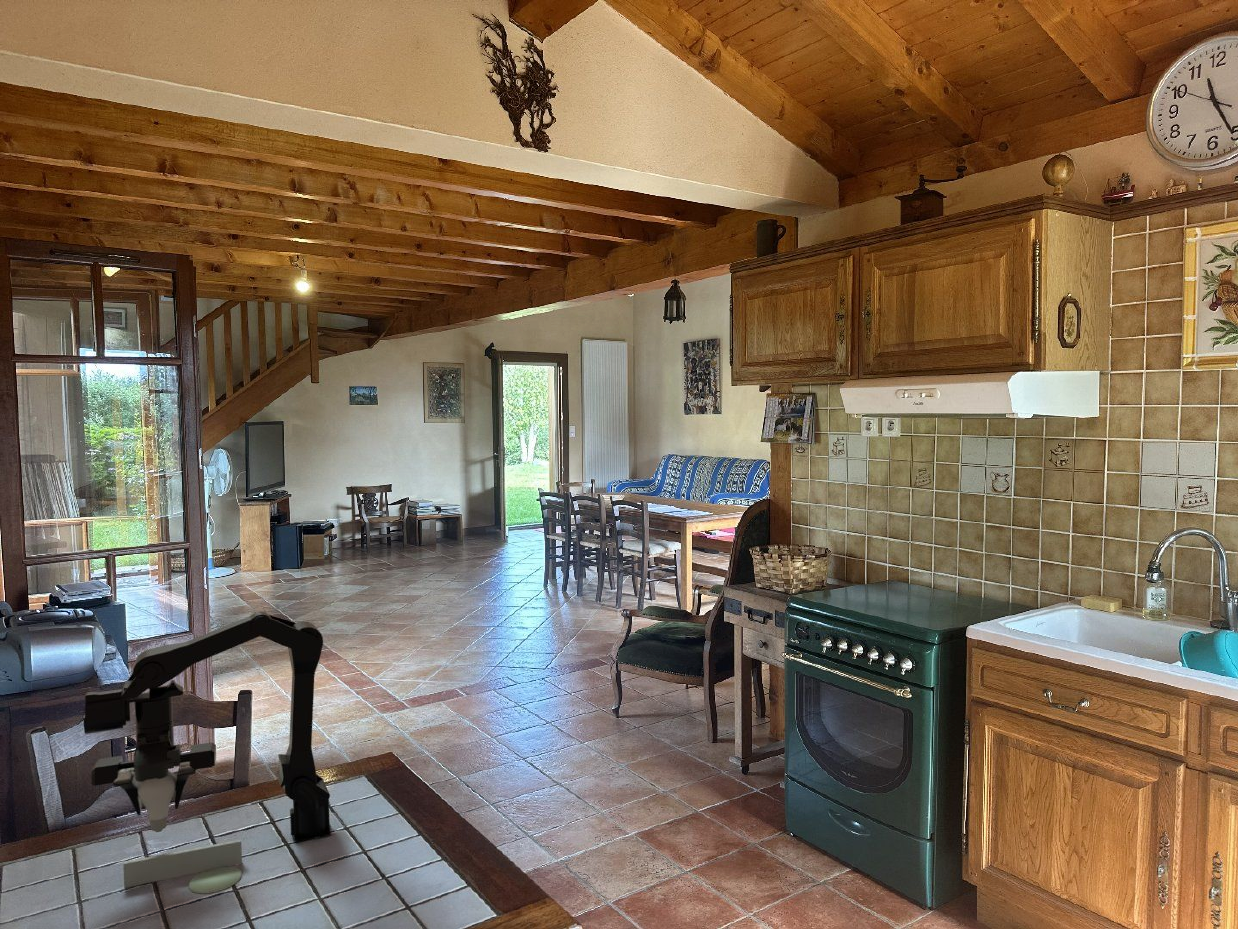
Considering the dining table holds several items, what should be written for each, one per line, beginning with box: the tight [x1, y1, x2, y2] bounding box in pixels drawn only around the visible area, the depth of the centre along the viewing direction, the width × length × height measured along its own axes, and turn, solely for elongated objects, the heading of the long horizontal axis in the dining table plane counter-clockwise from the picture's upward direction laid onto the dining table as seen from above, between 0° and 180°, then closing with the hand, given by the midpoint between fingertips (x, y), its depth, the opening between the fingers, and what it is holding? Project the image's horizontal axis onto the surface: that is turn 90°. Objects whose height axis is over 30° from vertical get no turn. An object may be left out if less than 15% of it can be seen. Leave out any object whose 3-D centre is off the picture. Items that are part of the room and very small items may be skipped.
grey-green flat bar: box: [122, 839, 243, 889], centre depth 145 cm, size 18×1×4 cm, turn 113°
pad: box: [188, 866, 242, 894], centre depth 142 cm, size 8×8×1 cm
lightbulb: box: [137, 769, 177, 833], centre depth 147 cm, size 6×6×11 cm
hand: (158, 811), depth 147 cm, fingers closed on lightbulb, 5 cm apart
